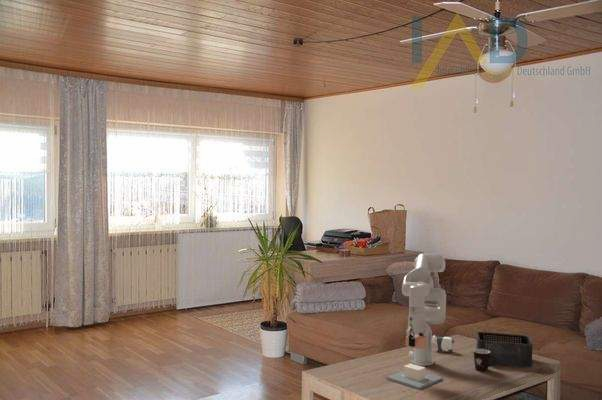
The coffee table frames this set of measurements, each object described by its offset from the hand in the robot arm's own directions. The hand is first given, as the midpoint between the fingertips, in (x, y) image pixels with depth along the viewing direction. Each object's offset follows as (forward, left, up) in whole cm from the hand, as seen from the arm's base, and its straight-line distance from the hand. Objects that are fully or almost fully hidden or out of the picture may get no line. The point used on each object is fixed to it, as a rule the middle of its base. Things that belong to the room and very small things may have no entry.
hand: (416, 344), depth 290 cm
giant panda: (-18, +52, -18) cm, 57 cm away
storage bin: (+15, +61, -18) cm, 66 cm away
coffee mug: (+16, +38, -18) cm, 45 cm away
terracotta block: (0, 0, -1) cm, 1 cm away
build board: (-1, 0, -18) cm, 18 cm away
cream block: (-1, 0, -16) cm, 16 cm away
